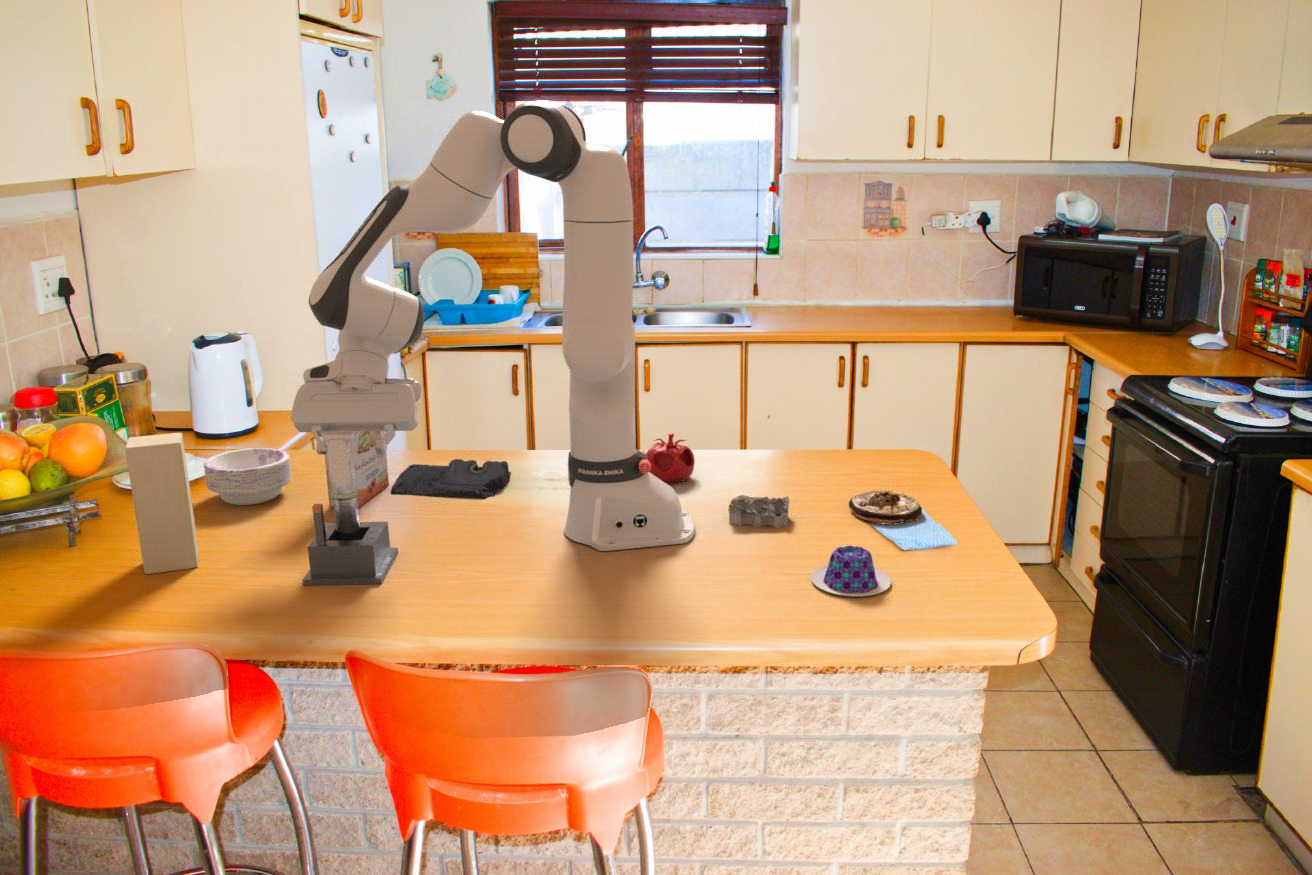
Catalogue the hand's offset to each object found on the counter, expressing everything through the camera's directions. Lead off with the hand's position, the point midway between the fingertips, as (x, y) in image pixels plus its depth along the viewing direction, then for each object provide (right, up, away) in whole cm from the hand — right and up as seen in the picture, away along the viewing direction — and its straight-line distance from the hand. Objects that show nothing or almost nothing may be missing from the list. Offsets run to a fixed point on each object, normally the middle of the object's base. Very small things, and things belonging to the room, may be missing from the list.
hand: (351, 452), depth 169 cm
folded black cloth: (+9, -7, +36) cm, 38 cm away
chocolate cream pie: (+90, -12, +18) cm, 93 cm away
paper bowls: (-28, -9, +30) cm, 42 cm away
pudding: (+79, -20, -10) cm, 82 cm away
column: (+1, -12, -5) cm, 13 cm away
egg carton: (+68, -13, +16) cm, 71 cm away
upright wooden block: (-29, -18, +1) cm, 34 cm away
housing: (+1, -19, -3) cm, 19 cm away
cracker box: (-7, -9, +30) cm, 32 cm away
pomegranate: (+52, -6, +38) cm, 64 cm away
